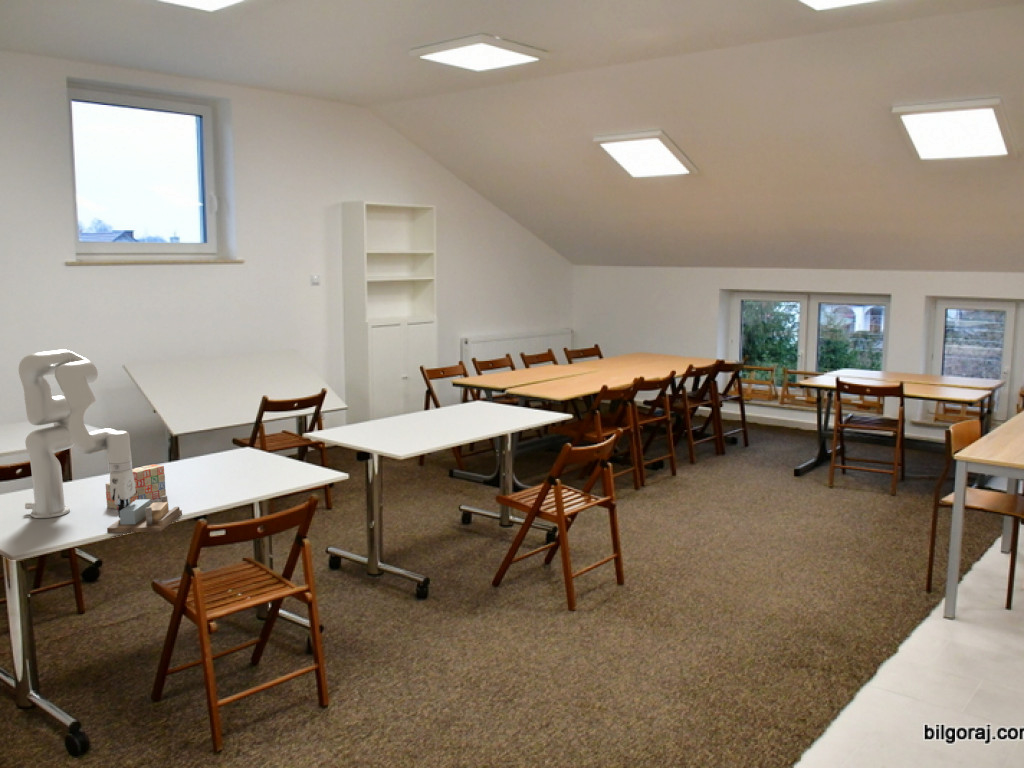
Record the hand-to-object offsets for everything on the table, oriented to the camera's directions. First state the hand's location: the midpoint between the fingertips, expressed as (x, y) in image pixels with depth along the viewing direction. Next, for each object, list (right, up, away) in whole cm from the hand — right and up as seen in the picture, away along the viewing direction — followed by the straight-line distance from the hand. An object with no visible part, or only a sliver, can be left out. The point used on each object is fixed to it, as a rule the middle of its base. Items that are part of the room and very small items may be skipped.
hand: (124, 517), depth 302 cm
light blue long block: (+4, 0, 0) cm, 4 cm away
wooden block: (+12, -1, 0) cm, 12 cm away
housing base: (+7, -2, 0) cm, 8 cm away
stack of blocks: (-7, +1, +27) cm, 29 cm away
